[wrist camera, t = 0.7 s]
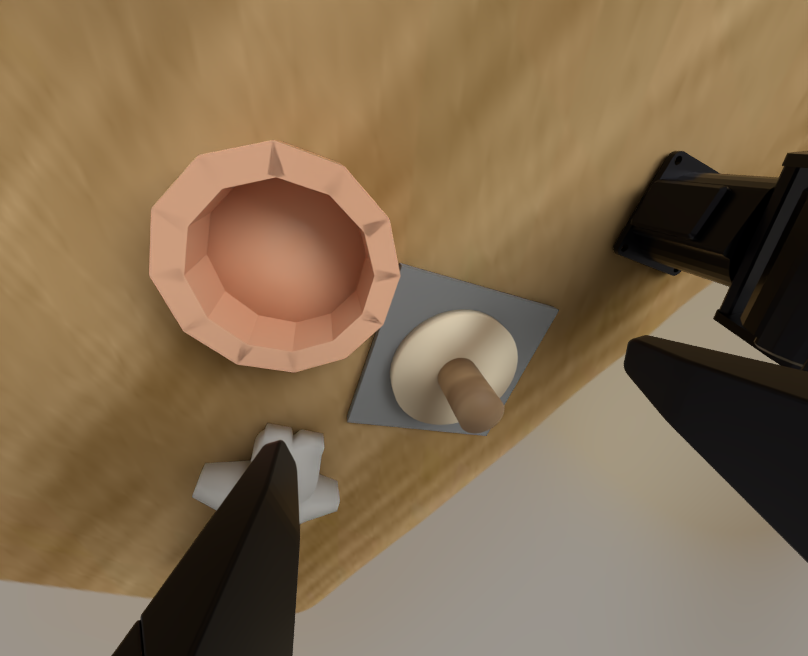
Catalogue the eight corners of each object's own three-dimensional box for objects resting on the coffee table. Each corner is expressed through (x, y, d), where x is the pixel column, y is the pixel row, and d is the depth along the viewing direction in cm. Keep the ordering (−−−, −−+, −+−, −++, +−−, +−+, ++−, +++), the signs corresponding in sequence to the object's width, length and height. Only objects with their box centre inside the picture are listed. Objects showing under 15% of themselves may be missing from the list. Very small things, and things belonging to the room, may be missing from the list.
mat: (553, 306, 24) (558, 310, 23) (483, 430, 28) (486, 435, 28) (399, 262, 20) (402, 266, 19) (346, 416, 24) (347, 422, 24)
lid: (531, 324, 23) (580, 363, 19) (479, 420, 27) (510, 472, 22) (416, 295, 20) (442, 334, 16) (373, 408, 24) (385, 466, 19)
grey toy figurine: (366, 472, 22) (289, 624, 25) (355, 423, 26) (291, 557, 30) (209, 448, 18) (144, 630, 21) (228, 396, 23) (171, 553, 26)
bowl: (406, 188, 18) (428, 197, 14) (356, 345, 21) (363, 382, 18) (194, 108, 14) (154, 95, 11) (179, 313, 18) (146, 351, 15)
